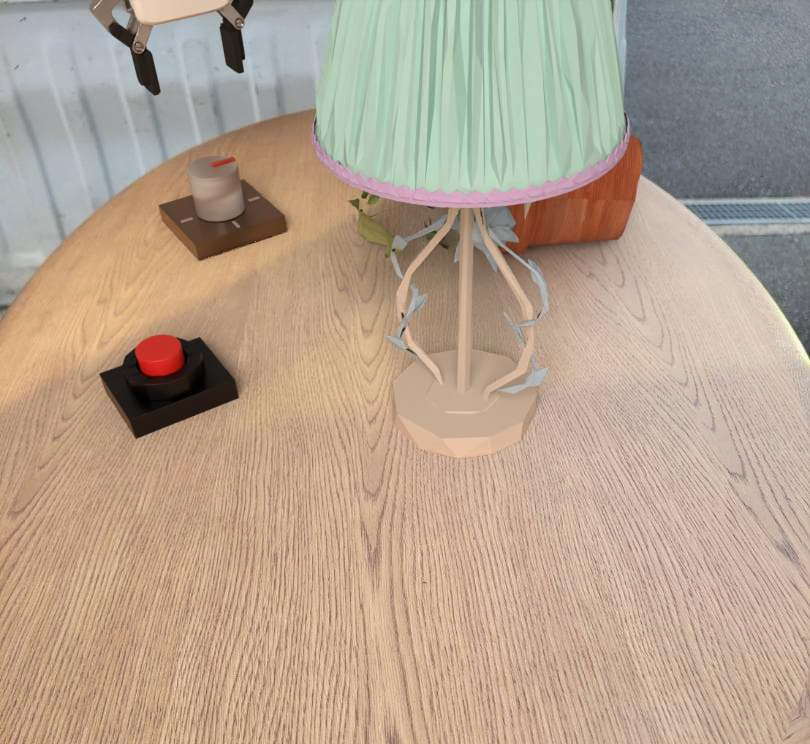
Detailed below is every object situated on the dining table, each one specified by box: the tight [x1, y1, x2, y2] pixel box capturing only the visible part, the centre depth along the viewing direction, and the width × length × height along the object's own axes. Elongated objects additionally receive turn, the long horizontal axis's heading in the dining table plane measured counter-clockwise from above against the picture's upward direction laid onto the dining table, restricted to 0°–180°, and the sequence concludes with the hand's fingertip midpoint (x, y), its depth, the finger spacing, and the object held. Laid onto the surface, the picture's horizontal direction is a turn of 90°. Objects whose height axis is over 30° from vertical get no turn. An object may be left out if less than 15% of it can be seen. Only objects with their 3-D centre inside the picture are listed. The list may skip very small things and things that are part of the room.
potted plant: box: [347, 135, 644, 258], centre depth 91 cm, size 16×15×35 cm
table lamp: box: [310, 0, 632, 460], centre depth 63 cm, size 22×22×40 cm
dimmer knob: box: [186, 155, 245, 222], centre depth 98 cm, size 6×6×5 cm
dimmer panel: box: [158, 178, 288, 261], centre depth 101 cm, size 11×11×2 cm
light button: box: [135, 334, 185, 376], centre depth 77 cm, size 4×4×2 cm
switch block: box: [99, 336, 240, 440], centre depth 79 cm, size 10×8×4 cm
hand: (194, 79), depth 90 cm, fingers open, 8 cm apart
